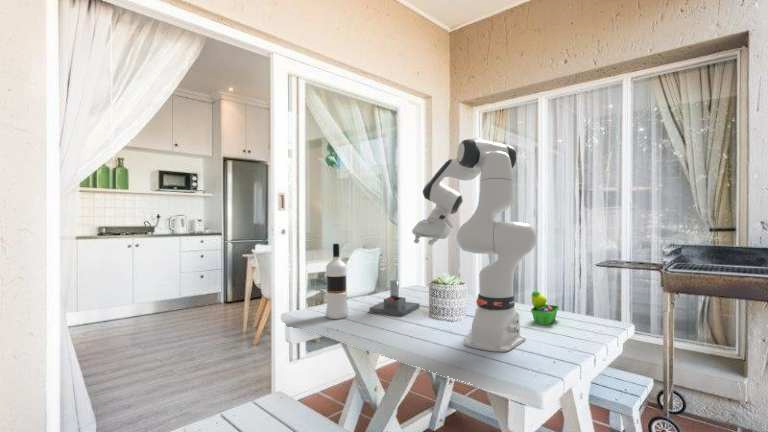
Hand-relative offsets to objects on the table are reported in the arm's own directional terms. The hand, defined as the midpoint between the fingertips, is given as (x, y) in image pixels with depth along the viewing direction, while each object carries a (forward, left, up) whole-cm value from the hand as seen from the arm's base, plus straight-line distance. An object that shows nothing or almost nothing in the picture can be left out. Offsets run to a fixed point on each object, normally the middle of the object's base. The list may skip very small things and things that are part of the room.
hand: (422, 243), depth 186 cm
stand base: (-16, +6, -28) cm, 33 cm away
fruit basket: (-5, -53, -28) cm, 60 cm away
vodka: (-36, +22, -28) cm, 51 cm away
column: (-16, +6, -26) cm, 31 cm away
